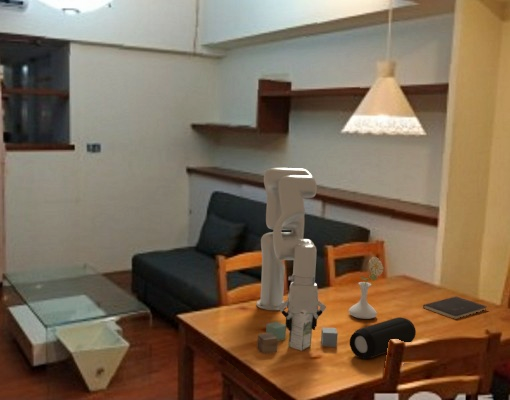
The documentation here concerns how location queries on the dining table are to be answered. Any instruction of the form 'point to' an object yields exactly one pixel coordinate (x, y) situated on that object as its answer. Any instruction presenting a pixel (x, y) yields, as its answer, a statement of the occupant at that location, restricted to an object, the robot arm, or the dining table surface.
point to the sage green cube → (277, 330)
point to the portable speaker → (380, 337)
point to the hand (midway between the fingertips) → (300, 328)
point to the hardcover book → (454, 307)
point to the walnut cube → (267, 343)
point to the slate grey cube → (329, 337)
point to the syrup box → (301, 330)
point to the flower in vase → (362, 306)
